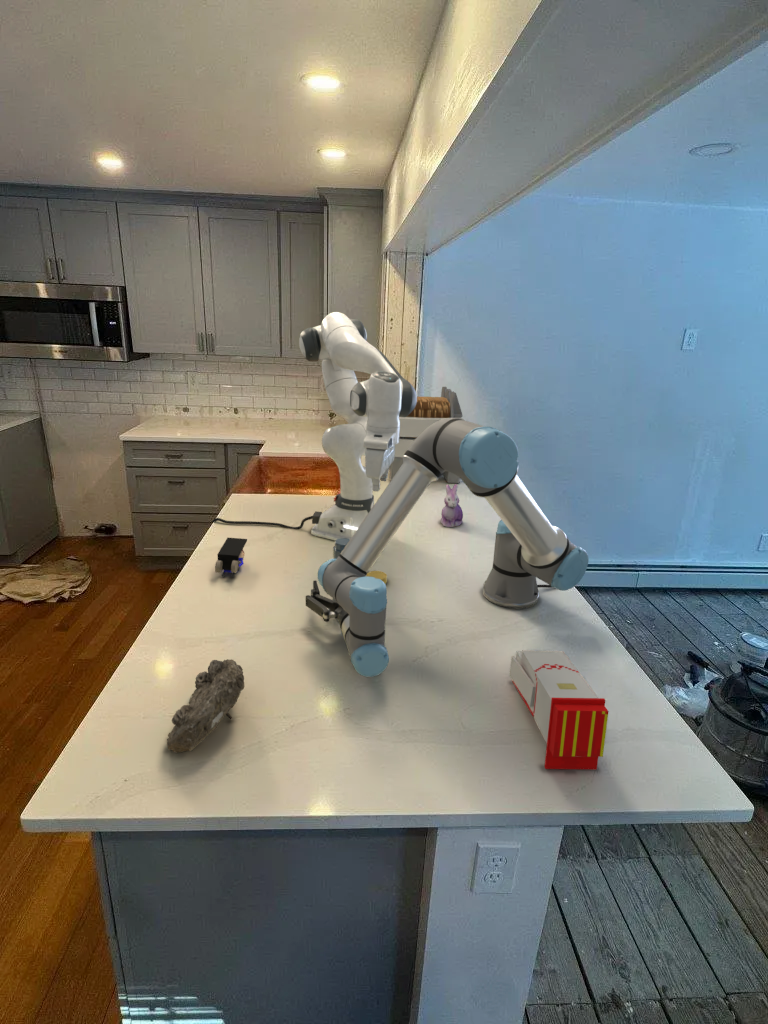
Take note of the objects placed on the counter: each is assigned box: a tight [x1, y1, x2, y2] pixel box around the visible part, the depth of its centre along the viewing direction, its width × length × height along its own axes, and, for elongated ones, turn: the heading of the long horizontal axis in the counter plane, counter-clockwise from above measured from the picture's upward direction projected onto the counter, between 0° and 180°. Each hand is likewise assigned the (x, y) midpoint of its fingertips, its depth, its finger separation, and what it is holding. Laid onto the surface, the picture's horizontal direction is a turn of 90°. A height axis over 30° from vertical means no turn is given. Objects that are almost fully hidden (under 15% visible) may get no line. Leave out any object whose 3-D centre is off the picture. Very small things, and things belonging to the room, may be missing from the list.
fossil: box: [166, 658, 245, 754], centre depth 106 cm, size 22×10×15 cm
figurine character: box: [214, 537, 248, 578], centre depth 166 cm, size 7×8×15 cm
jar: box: [331, 538, 350, 607], centre depth 144 cm, size 5×5×20 cm
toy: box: [509, 649, 610, 771], centre depth 110 cm, size 12×13×30 cm
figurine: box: [440, 483, 464, 528], centre depth 209 cm, size 9×10×15 cm
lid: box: [366, 570, 388, 585], centre depth 164 cm, size 6×6×2 cm
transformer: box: [388, 386, 465, 484], centre depth 268 cm, size 34×33×41 cm
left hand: (380, 485), depth 155 cm, fingers open, 8 cm apart
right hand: (340, 583), depth 148 cm, fingers open, 13 cm apart
